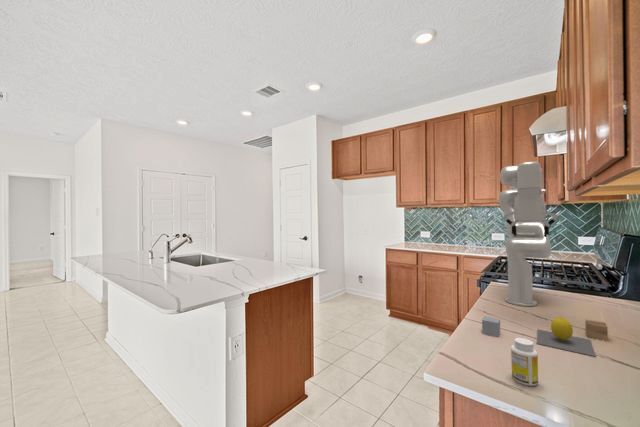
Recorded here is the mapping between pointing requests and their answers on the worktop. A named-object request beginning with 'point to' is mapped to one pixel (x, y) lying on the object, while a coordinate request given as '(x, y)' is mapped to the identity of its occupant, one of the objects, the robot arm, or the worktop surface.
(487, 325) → the slate block
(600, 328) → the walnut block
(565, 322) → the lemon
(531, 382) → the supplement bottle
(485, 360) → the worktop surface
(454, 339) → the worktop surface
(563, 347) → the mat
